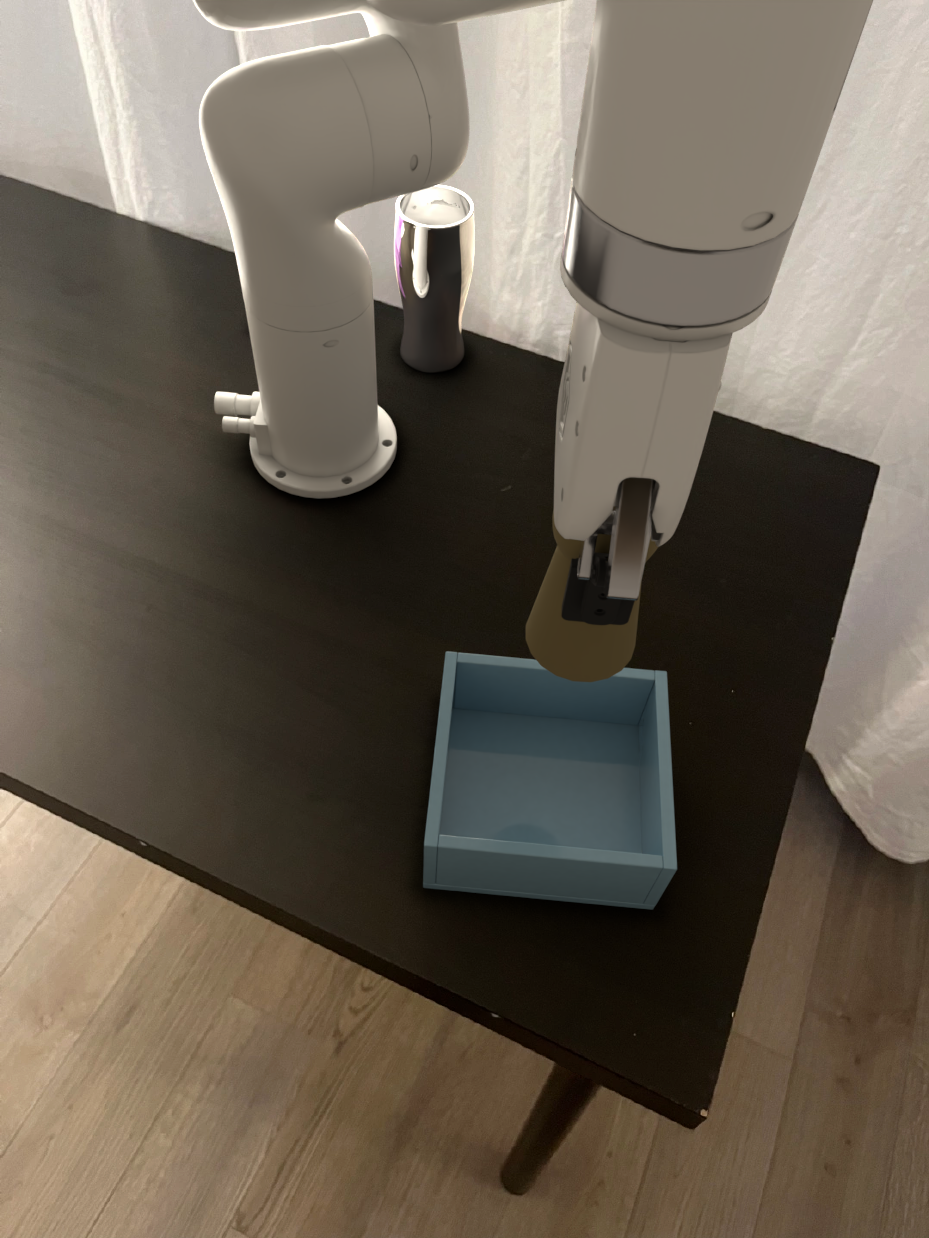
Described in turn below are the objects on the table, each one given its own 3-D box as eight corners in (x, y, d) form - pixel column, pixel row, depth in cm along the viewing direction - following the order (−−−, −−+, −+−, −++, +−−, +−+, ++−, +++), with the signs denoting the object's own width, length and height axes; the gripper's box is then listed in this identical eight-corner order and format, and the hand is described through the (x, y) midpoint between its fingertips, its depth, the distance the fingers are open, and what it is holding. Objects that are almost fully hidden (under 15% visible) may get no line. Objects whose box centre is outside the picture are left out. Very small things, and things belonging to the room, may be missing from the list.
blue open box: (422, 888, 60) (423, 845, 55) (442, 704, 68) (445, 650, 63) (653, 910, 60) (677, 869, 55) (646, 722, 68) (667, 671, 63)
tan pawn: (630, 692, 50) (676, 557, 41) (516, 670, 51) (538, 532, 42) (640, 602, 54) (684, 460, 45) (534, 583, 54) (557, 439, 45)
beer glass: (443, 386, 88) (447, 239, 76) (381, 358, 90) (376, 210, 78) (482, 347, 92) (492, 200, 80) (422, 321, 94) (423, 174, 82)
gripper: (567, 109, 38) (525, 445, 53) (560, 393, 28) (510, 711, 43) (756, 124, 38) (661, 456, 53) (817, 415, 28) (678, 726, 42)
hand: (594, 567), depth 47 cm, fingers closed on tan pawn, 5 cm apart
